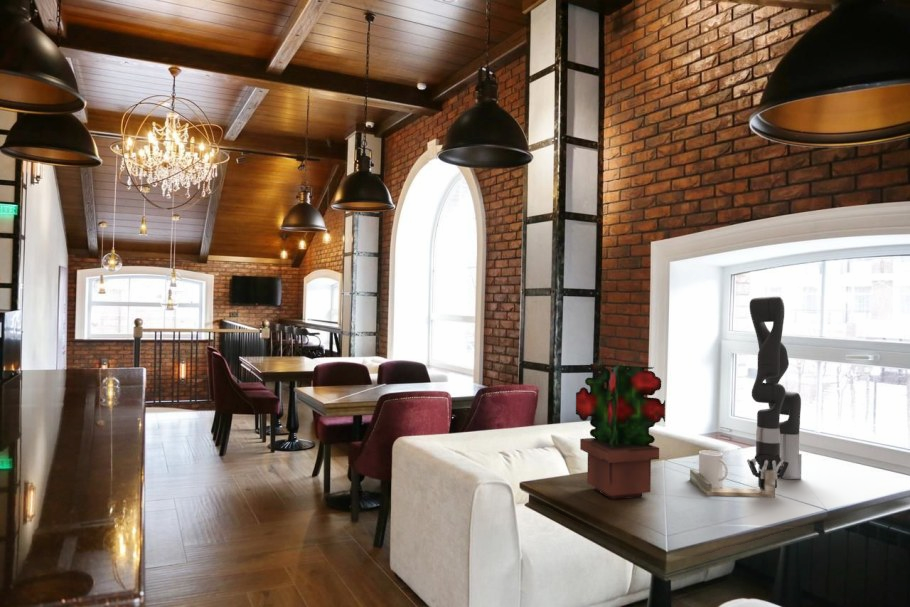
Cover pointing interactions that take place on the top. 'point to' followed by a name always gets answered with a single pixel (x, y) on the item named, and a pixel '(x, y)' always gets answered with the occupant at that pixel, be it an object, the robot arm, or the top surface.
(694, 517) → the top surface
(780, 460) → the robot arm
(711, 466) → the mug
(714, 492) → the bracket
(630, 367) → the potted plant
